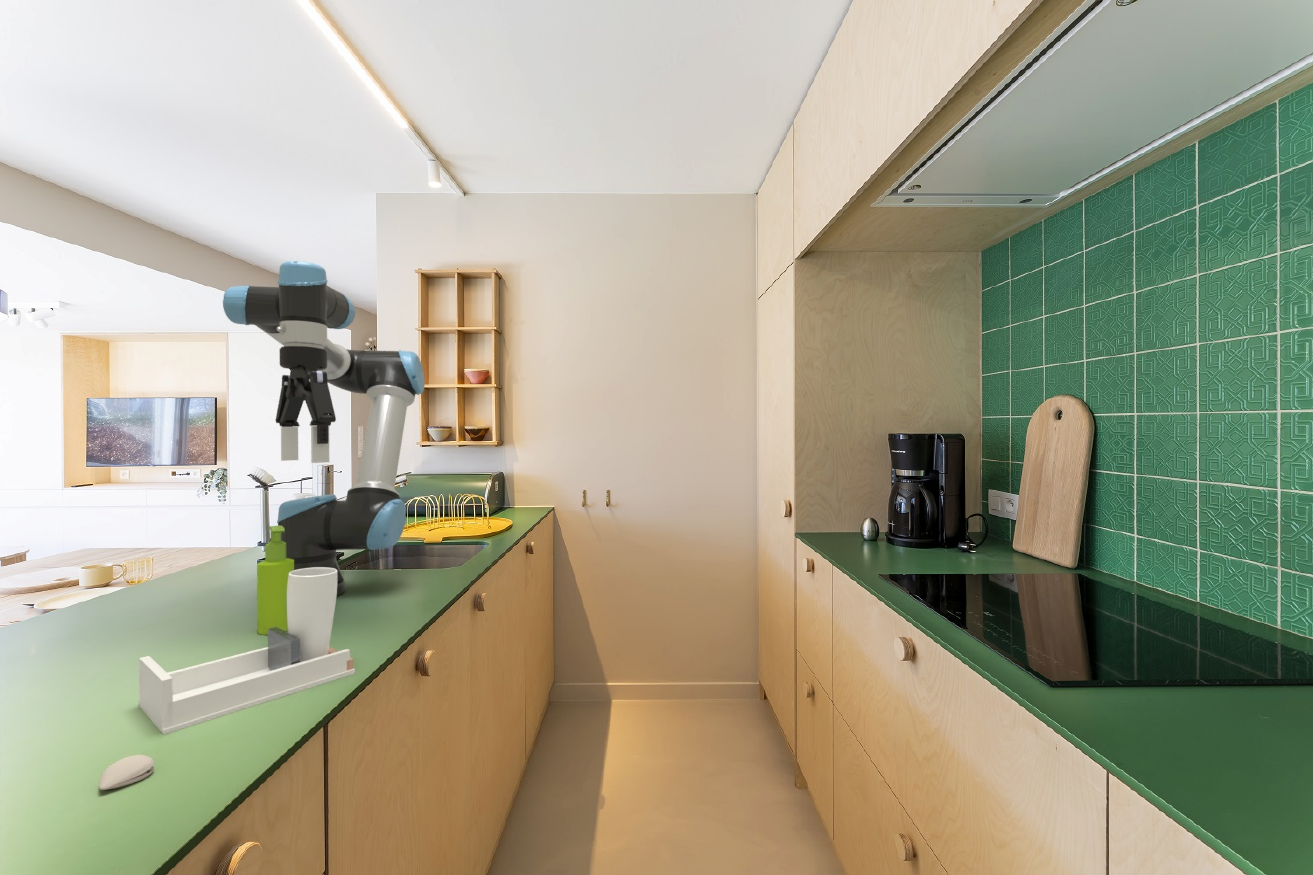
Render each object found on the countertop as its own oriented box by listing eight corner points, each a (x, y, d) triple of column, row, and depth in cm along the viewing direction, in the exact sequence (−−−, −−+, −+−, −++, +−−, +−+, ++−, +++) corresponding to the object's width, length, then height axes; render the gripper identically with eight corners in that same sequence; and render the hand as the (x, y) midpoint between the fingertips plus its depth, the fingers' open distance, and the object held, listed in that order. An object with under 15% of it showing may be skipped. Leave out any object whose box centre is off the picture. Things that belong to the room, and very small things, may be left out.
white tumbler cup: (278, 665, 89) (284, 569, 89) (327, 656, 94) (332, 565, 94) (286, 679, 84) (292, 578, 84) (337, 669, 88) (343, 572, 89)
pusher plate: (276, 664, 90) (276, 626, 90) (300, 679, 84) (299, 638, 84) (268, 666, 89) (267, 628, 89) (291, 682, 83) (290, 641, 83)
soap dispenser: (260, 638, 104) (259, 530, 104) (255, 628, 109) (255, 525, 109) (297, 631, 108) (297, 526, 108) (291, 622, 113) (291, 522, 113)
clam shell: (163, 772, 63) (163, 749, 63) (122, 801, 58) (122, 776, 58) (123, 772, 63) (123, 750, 63) (79, 801, 58) (79, 777, 58)
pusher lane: (319, 654, 96) (319, 614, 96) (355, 674, 88) (354, 630, 88) (138, 706, 78) (138, 657, 78) (163, 736, 70) (163, 681, 70)
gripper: (255, 351, 110) (256, 460, 110) (310, 338, 95) (311, 464, 95) (298, 355, 116) (299, 458, 116) (356, 343, 101) (357, 462, 101)
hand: (304, 461), depth 106 cm, fingers open, 13 cm apart
